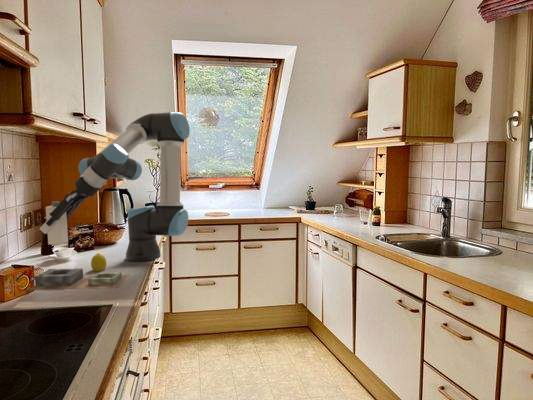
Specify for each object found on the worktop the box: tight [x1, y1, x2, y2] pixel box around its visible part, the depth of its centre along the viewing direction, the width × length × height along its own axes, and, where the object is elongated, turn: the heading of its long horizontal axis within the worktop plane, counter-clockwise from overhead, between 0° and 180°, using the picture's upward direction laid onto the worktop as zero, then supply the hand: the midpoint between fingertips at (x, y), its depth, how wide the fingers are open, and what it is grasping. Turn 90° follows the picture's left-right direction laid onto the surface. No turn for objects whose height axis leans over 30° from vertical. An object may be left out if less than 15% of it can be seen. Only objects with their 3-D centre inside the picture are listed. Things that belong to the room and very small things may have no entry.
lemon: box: [90, 252, 107, 272], centre depth 164 cm, size 6×6×8 cm
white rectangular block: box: [45, 201, 69, 245], centre depth 146 cm, size 5×4×14 cm
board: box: [27, 267, 133, 294], centre depth 148 cm, size 30×16×5 cm, turn 90°
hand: (46, 230), depth 146 cm, fingers closed on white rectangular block, 4 cm apart
